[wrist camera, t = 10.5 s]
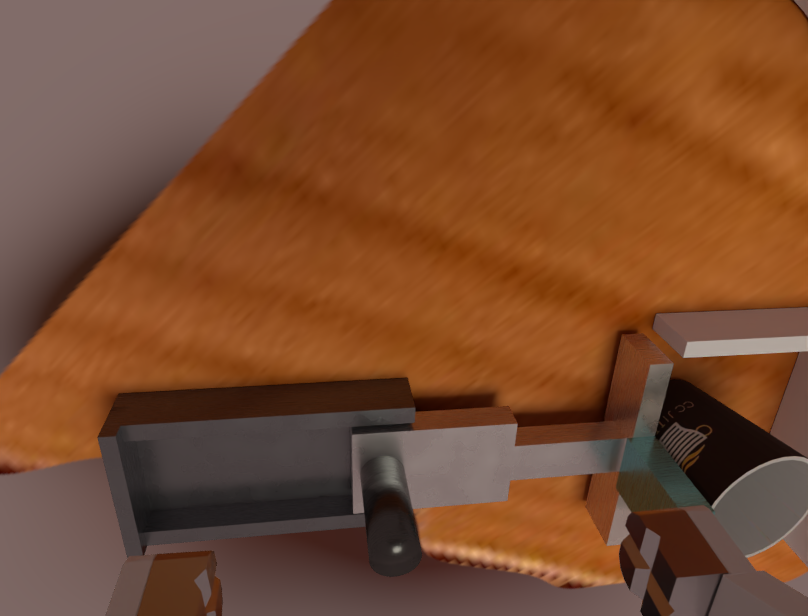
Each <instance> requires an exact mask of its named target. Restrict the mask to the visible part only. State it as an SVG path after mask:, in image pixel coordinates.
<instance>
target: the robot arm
mask: <svg viewBox="0 0 808 616" xmlns="http://www.w3.org/2000/svg"><path fill="white" fill-rule="evenodd" d="M794 1H795V2H796V4H797V5H798V6H799V7H800V8H801V9H802V10H803V11H804V13H805V14H806V15H807V17H808V0H794ZM625 526H626V528H627V530H628V532H629V535H628V536H627V537H626V538H625V539H624V540H623V541H622V542H621V546H620V551H619V559H620V568H621V571H622V574H623V577H624V580H625V582H626V584H627V586H628V588H629V590H630V591H631V592H632V593H634V594H635V595H636V596H638V597H639V598H641V599H642V605H641V610H640V612H641V613H642V615H643V616H808V597H806V596H804V595H803V594H801V593H800V592H798V591H796V590H795V589H793V588H791V587H790V586H788V585H786V584H785V583H783V582H781V581H780V580H778V579H776V578H775V577H773V576H771V575H770V574H768V573H767V572H765V571H756V570H755V569H754V567H753V566H752V565H751V563H750V562H749V561H748V559H747V558H746V557H745V555H744V554H743V553H742V551H741V550H740V549H739V547H738V546H737V545H736V544H735V542H734V541H733V540H732V538H731V537H730V536H729V534H728V533H727V532H726V530H725V529H724V528H723V526H722V525H721V524H720V522H719V521H718V520H717V518H716V517H715V516H714V514H713V513H712V512H711V510H710V509H709V508H707V507H706V506H704V505H700V506H690V507H680V508H666V509H656V510H646V511H637V512H631V513H630V514H629V516H628V517H627V521H626V525H625ZM216 566H217V562H216V558H215V554H214V551H197V552H183V553H166V554H155V555H141V556H129V557H128V559H127V560H126V561H125V563H124V564H123V566H122V570H121V572H120V575H119V578H118V581H117V584H116V587H115V589H114V592H113V595H112V598H111V601H110V604H109V606H108V609H107V612H106V615H105V616H222V605H223V598H222V587H221V582H220V579H218V578H217V577H215V571H216Z"/></svg>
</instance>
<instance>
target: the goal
mask: <svg viewBox="0 0 808 616" xmlns="http://www.w3.org/2000/svg"><path fill="white" fill-rule="evenodd" d="M653 330H654V331H655V332H656V333H658V334H659V335H660V336H661V337H662V338H663V339H664V340H665V341H666V342H667V343H668V344H669V345H670V346H671V347H672V348H673V349H674V350H675V351H676V352H678V353H679V354H680V355H681V356H682V357H683V358H691V357H709V356H728V355H746V354H765V353H783V352H799V355H798V358H797V360H796V363H795V366H794V369H793V371H792V374H791V377H790V380H789V382H788V385H787V388H786V391H785V393H784V396H783V399H782V401H781V404H780V407H779V410H778V412H777V415H776V418H775V421H774V423H773V426H772V429H771V432H770V434H771V435H772V436H774V437H776V438H777V439H779V440H780V441H782V442H783V443H785V444H787V445H788V446H790V447H791V448H793V449H794V450H796V451H798V452H799V453H801V454H802V455H804V456H805V457H807V458H808V307H800V308H777V309H754V310H731V311H708V312H684V313H661V314H656V316H655V320H654V325H653ZM783 540H784V541H785V542H786V543H787V544H788V545H789V546H790V548H791V549H792V550H793V551H794V552H795V553H796V554H797V555H798V557H799V558H800V559H801V560H802V561H803V562H804V563H805V565H806V566H807V567H808V514H807V515H806V517H805V518H804V519H803V521H802V522H801V523H800V524H799V525H798V526H797V527H796V528H795V529H794V530H793V531H792V532H791V533H789V534H788V535H787V536H786V537H785V538H783Z"/></svg>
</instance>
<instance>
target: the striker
mask: <svg viewBox="0 0 808 616" xmlns="http://www.w3.org/2000/svg"><path fill="white" fill-rule="evenodd" d="M673 364H674V363H673V362H672V361H671V360H670V359H669V358H668V357H667V356H666V355H665V354H664V353H663V352H662V351H661V350H660V349H659V348H658V347H657V346H656V345H655V344H654V343H652V342H651V341H650V340H649V339H648V338H647V337H646V336H645V335H644V334H622V336H621V341H620V345H619V350H618V355H617V360H616V364H615V369H614V374H613V378H612V383H611V388H610V393H609V397H608V402H607V407H606V412H605V416H604V421H603V422H589V423H574V424H560V425H545V426H530V427H517V425H518V423H517V421H516V419H515V417H514V415H513V413H512V411H511V409H510V407H509V406H502V407H486V408H470V409H454V410H438V411H422V412H415V423H403V424H388V425H373V426H357V427H350V441H351V495H352V506H353V514H357V513H364V516H365V525H366V534H367V543H368V553H369V562H370V566H371V568H372V569H373V570H374V571H375V572H376V573H378V574H380V575H383V576H389V577H393V576H400V575H404V574H406V573H409V572H410V571H412V570H413V569H415V568H416V567H417V566H418V564H419V563H420V561H421V558H422V552H421V547H420V542H419V537H418V533H417V528H416V523H415V518H414V513H413V509H416V508H428V507H440V506H452V505H463V504H475V503H487V502H499V501H507V499H508V492H509V484H510V480H521V479H533V478H546V477H558V476H571V475H583V474H592V478H591V482H590V487H589V492H588V497H587V501H586V506H585V507H586V509H587V511H588V513H589V514H590V516H591V518H592V520H593V522H594V524H595V525H596V527H597V529H598V531H599V533H600V535H601V536H602V538H603V540H604V542H605V544H606V545H607V546H609V545H619V544H621V542H622V541H623V540H624V539H625V538H626V537H627V536H628V535H629V532H628V530H627V528H626V526H625V525H626V521H627V517H628V516H629V514H630V513H631V512H637V511H646V510H656V509H666V508H680V507H690V506H700V505H704V506H706V507H707V508H709V509H710V510H711V512H712V513H713V514H715V511H714V510H713V508H712V507H711V506H710V505H709V503H708V502H707V501H706V500H705V498H704V497H703V496H702V495H701V493H700V492H699V491H698V490H697V488H696V487H695V486H694V485H693V483H692V482H691V481H690V479H689V478H688V477H687V476H686V474H685V473H684V472H683V471H682V469H681V468H680V467H679V466H678V464H677V463H676V462H675V461H674V459H673V458H672V457H671V456H670V454H669V453H668V452H667V451H666V449H665V448H664V447H663V446H662V444H661V443H660V442H659V441H658V439H657V438H656V437H655V433H656V429H657V426H658V422H659V418H660V414H661V410H662V407H663V403H664V399H665V395H666V391H667V387H668V384H669V380H670V376H671V372H672V368H673Z"/></svg>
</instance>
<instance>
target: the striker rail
mask: <svg viewBox="0 0 808 616" xmlns="http://www.w3.org/2000/svg"><path fill="white" fill-rule="evenodd" d="M403 423H415V404H414V400H413V396H412V393H411V389H410V385H409V381H408V378H396V379H377V380H359V381H341V382H323V383H305V384H287V385H268V386H250V387H232V388H214V389H196V390H178V391H160V392H141V393H123V394H118V396H117V398H116V400H115V403H114V405H113V407H112V409H111V411H110V413H109V415H108V417H107V419H106V421H105V423H104V425H103V427H102V429H101V431H100V433H99V436H98V441H99V445H100V449H101V454H102V458H103V461H104V465H105V470H106V473H107V478H108V482H109V486H110V490H111V494H112V498H113V502H114V506H115V509H116V514H117V518H118V522H119V526H120V530H121V534H122V538H123V542H124V546H125V550H126V554H127V558H128V557H129V556H141V555H145V551H146V548H147V546H148V545H159V544H171V543H182V542H194V541H205V540H217V539H228V538H239V537H251V536H262V535H274V534H285V533H296V532H308V531H319V530H331V529H342V528H354V527H364V526H366V525H365V516H364V513H357V514H353V506H352V495H351V441H350V427H357V426H373V425H388V424H403Z"/></svg>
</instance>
